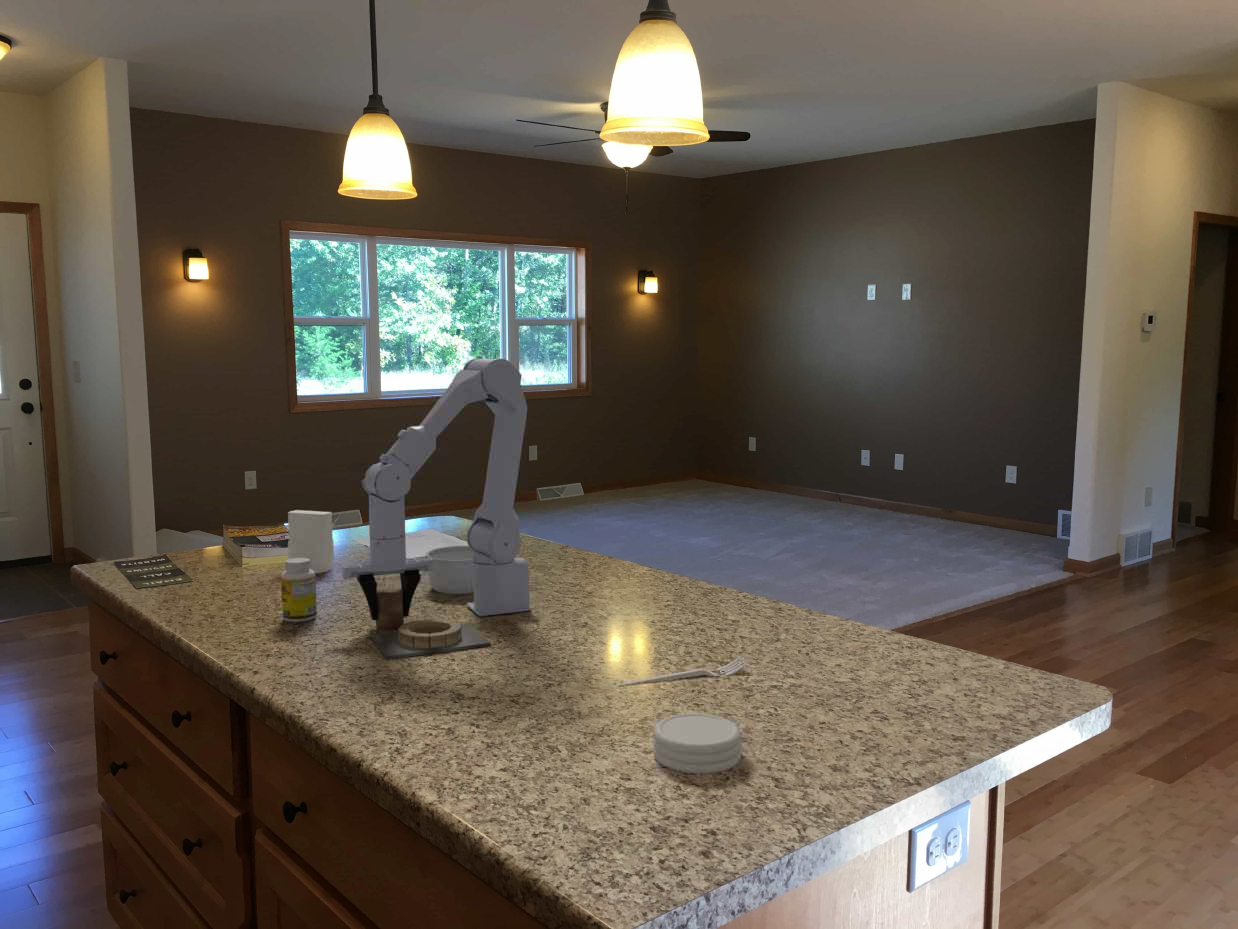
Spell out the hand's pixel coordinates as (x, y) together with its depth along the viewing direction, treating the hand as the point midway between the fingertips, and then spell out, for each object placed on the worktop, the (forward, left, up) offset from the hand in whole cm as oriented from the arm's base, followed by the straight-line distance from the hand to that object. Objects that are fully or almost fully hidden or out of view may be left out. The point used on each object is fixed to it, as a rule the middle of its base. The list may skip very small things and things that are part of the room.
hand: (389, 617), depth 161 cm
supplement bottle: (+13, -11, -2) cm, 17 cm away
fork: (-32, +42, -2) cm, 53 cm away
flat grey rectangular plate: (-4, +11, -2) cm, 12 cm away
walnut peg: (0, 0, -2) cm, 2 cm away
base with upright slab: (+6, -49, -2) cm, 49 cm away
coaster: (-21, +66, -2) cm, 69 cm away
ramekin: (-18, -21, -2) cm, 28 cm away
